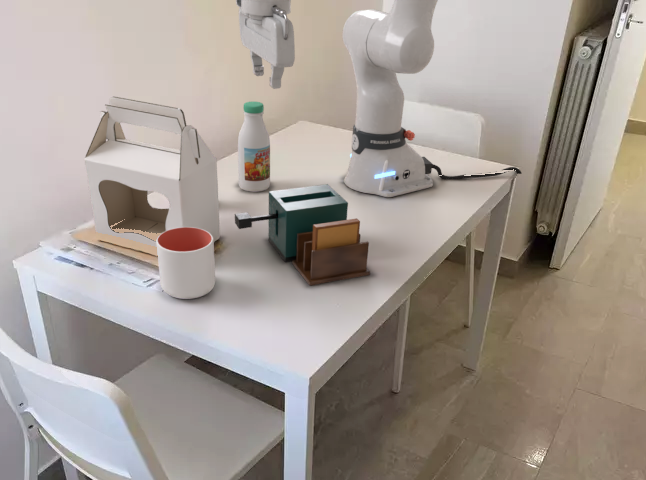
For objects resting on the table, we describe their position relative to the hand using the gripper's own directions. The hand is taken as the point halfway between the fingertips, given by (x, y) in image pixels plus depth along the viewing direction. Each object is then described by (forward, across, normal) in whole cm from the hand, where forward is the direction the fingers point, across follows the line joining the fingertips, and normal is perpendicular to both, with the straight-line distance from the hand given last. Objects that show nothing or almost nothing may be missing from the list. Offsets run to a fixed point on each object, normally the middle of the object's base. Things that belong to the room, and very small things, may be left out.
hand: (266, 81), depth 127 cm
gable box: (+31, +1, +23) cm, 39 cm away
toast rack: (+31, -22, -5) cm, 38 cm away
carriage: (+24, -11, 0) cm, 26 cm away
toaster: (+31, -12, -4) cm, 33 cm away
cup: (+31, -20, +23) cm, 43 cm away
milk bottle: (+31, +22, -5) cm, 38 cm away
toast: (+30, -24, -5) cm, 38 cm away
